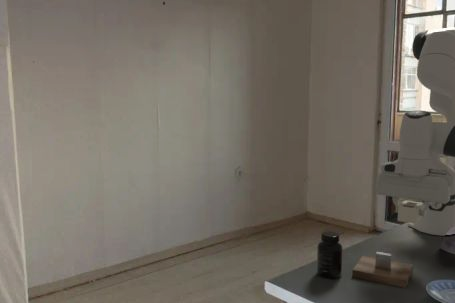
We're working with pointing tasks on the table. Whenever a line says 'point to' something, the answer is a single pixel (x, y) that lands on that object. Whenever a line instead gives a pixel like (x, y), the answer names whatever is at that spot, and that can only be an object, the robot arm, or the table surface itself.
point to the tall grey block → (383, 260)
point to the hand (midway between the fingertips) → (410, 213)
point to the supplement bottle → (329, 256)
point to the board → (383, 272)
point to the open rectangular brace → (409, 211)
